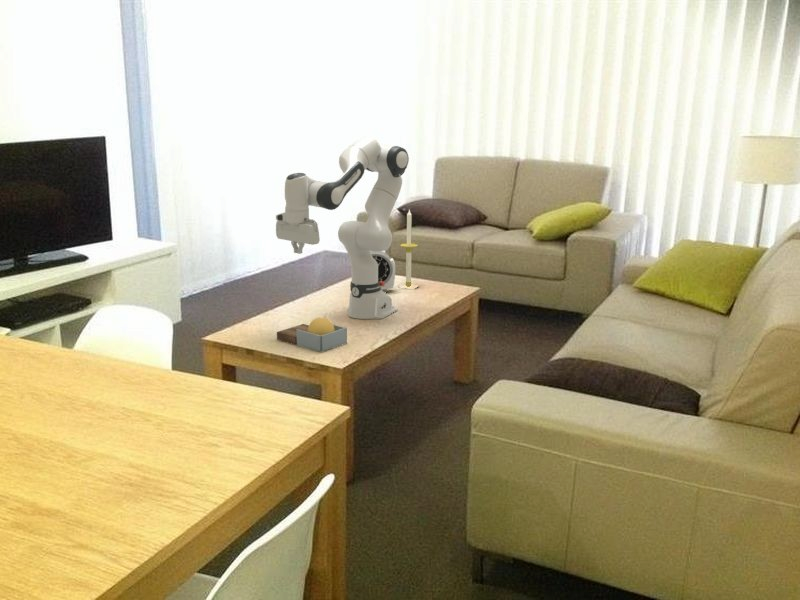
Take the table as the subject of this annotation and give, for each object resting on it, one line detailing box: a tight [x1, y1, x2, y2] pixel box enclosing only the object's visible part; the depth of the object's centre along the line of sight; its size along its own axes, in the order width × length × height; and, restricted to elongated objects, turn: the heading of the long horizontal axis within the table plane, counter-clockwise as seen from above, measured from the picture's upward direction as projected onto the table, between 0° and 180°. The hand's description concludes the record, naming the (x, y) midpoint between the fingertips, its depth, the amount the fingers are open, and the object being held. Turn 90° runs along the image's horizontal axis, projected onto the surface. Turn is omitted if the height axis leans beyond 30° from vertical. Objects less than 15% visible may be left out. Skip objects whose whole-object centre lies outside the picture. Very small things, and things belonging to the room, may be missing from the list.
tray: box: [296, 323, 348, 353], centre depth 298 cm, size 14×13×6 cm
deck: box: [276, 323, 309, 346], centre depth 305 cm, size 14×10×3 cm
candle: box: [399, 208, 419, 287], centre depth 380 cm, size 10×10×38 cm
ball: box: [308, 317, 335, 335], centre depth 296 cm, size 10×10×10 cm
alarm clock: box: [370, 250, 396, 293], centre depth 373 cm, size 18×8×20 cm, turn 90°
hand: (298, 253), depth 306 cm, fingers closed
